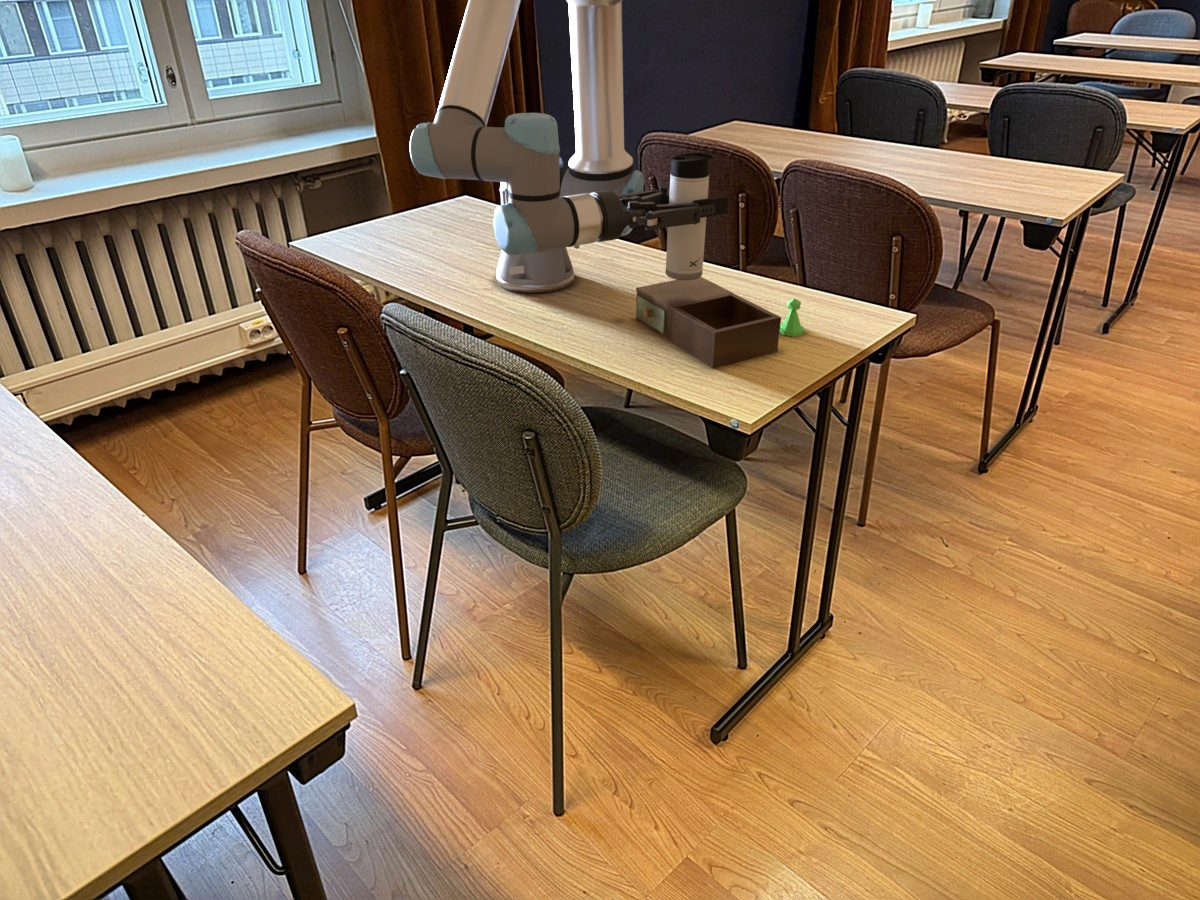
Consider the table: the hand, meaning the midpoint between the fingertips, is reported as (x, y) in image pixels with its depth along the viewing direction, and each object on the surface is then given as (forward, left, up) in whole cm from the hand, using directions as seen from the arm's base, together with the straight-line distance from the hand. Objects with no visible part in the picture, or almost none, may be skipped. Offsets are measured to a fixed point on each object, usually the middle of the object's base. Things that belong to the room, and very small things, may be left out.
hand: (713, 200), depth 141 cm
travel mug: (0, -5, -12) cm, 13 cm away
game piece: (+12, +9, -21) cm, 26 cm away
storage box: (+7, -5, -21) cm, 22 cm away
